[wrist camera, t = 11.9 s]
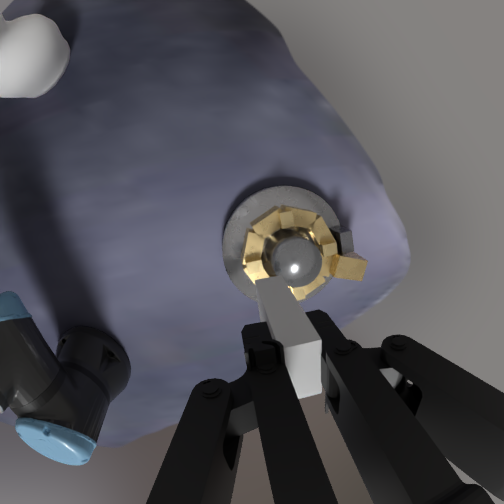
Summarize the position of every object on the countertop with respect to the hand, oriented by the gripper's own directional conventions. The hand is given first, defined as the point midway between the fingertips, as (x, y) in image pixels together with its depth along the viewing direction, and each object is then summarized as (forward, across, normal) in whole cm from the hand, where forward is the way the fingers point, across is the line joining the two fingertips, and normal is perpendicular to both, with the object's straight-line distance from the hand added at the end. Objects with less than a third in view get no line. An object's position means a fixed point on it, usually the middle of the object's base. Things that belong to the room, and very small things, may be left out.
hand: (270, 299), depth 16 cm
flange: (+26, +6, -5) cm, 27 cm away
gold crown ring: (+24, +8, -5) cm, 26 cm away
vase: (+27, -29, +34) cm, 52 cm away
